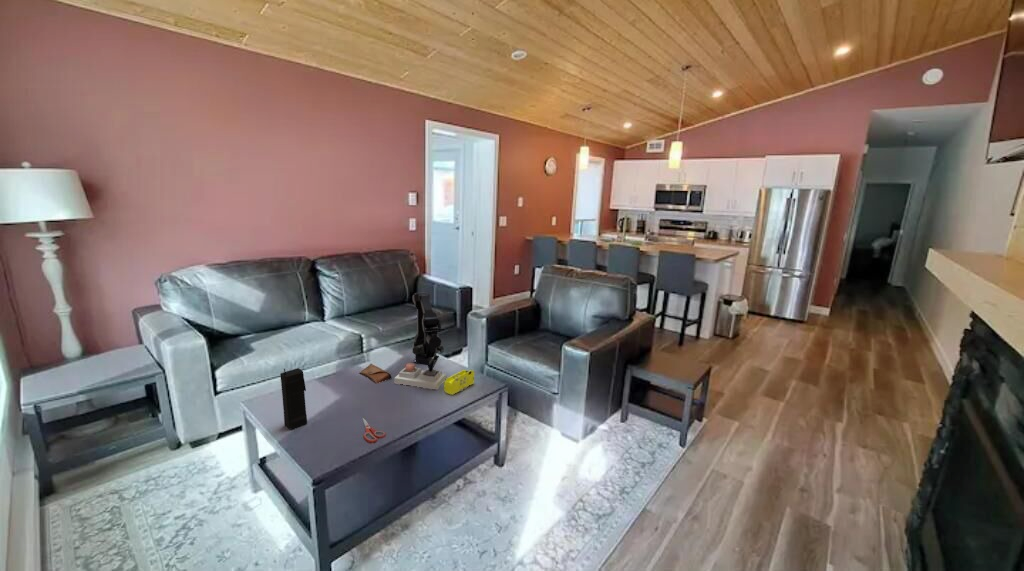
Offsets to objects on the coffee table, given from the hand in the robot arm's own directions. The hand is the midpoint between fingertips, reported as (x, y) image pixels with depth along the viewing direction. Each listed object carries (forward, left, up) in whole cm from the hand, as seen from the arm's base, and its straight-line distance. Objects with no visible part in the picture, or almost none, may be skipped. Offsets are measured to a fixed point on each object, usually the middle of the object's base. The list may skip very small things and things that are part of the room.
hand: (430, 371), depth 204 cm
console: (0, -5, -6) cm, 8 cm away
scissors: (+44, -7, -7) cm, 45 cm away
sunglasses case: (+1, -30, -7) cm, 31 cm away
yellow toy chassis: (+1, +15, -7) cm, 17 cm away
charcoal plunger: (0, 0, -3) cm, 3 cm away
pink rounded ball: (0, -11, -1) cm, 11 cm away
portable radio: (+49, -35, -7) cm, 61 cm away
